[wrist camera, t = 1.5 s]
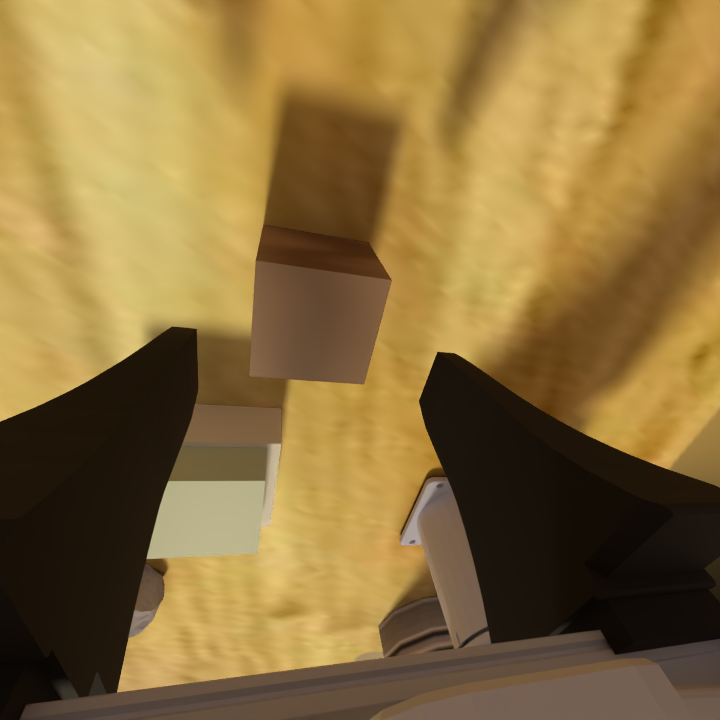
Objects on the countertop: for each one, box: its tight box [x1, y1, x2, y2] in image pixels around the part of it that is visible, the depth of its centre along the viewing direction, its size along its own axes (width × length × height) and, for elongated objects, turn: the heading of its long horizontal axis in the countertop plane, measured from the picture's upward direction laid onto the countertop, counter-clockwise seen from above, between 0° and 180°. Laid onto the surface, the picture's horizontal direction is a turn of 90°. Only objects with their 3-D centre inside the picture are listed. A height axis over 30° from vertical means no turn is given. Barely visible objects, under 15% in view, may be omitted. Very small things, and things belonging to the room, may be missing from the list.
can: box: [379, 596, 454, 658], centre depth 36 cm, size 11×11×12 cm
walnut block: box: [249, 225, 392, 384], centre depth 15 cm, size 4×4×4 cm
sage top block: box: [147, 446, 267, 559], centre depth 18 cm, size 6×6×2 cm
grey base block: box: [182, 404, 282, 527], centre depth 21 cm, size 7×7×3 cm
